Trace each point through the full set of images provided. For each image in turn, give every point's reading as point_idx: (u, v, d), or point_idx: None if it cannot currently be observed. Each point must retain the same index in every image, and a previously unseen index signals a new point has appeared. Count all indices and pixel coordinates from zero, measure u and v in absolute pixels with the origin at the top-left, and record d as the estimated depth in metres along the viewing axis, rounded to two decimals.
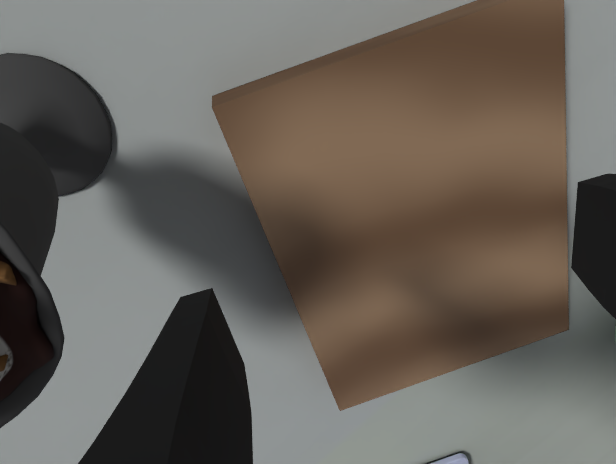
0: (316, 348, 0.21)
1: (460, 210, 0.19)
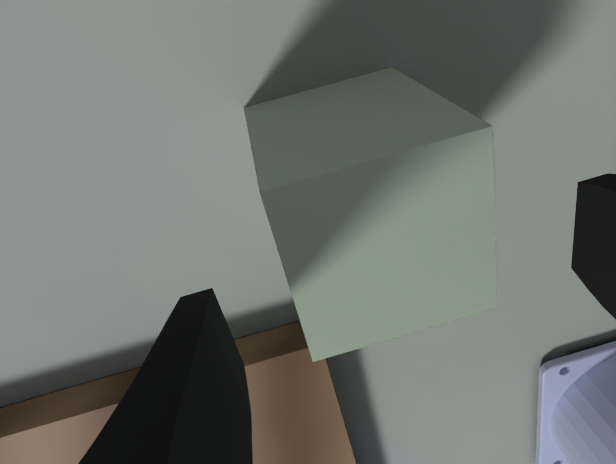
0: None
1: None
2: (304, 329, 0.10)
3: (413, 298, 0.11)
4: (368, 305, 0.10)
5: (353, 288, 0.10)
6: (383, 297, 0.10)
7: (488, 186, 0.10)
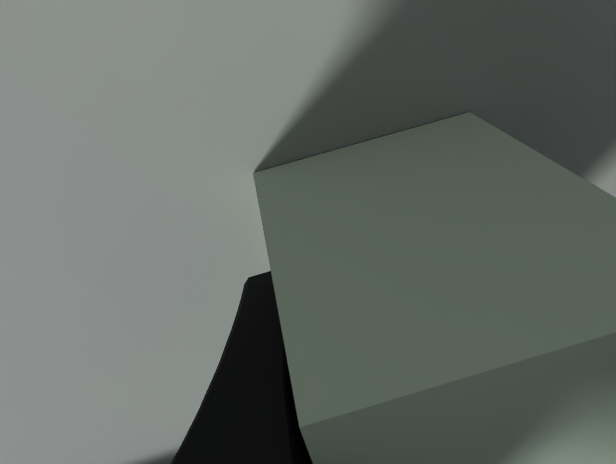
0: None
1: None
2: None
3: None
4: None
5: None
6: None
7: None
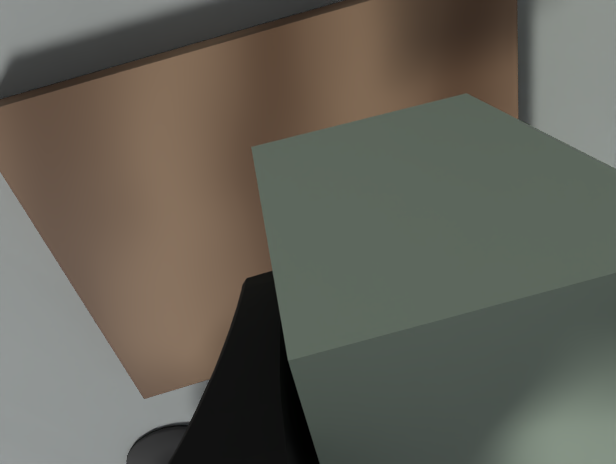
0: None
1: None
2: None
3: None
4: None
5: None
6: None
7: None
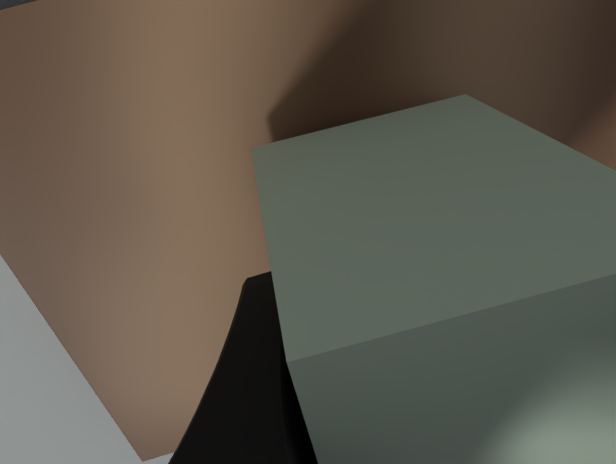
0: None
1: None
2: None
3: None
4: None
5: None
6: None
7: None
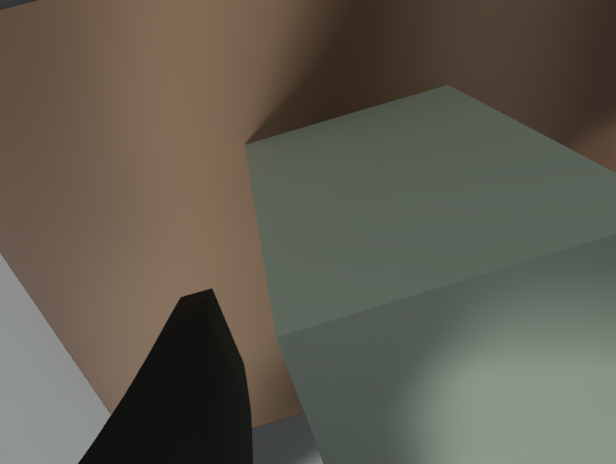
0: None
1: None
2: None
3: (516, 461, 0.07)
4: None
5: (427, 457, 0.06)
6: None
7: None
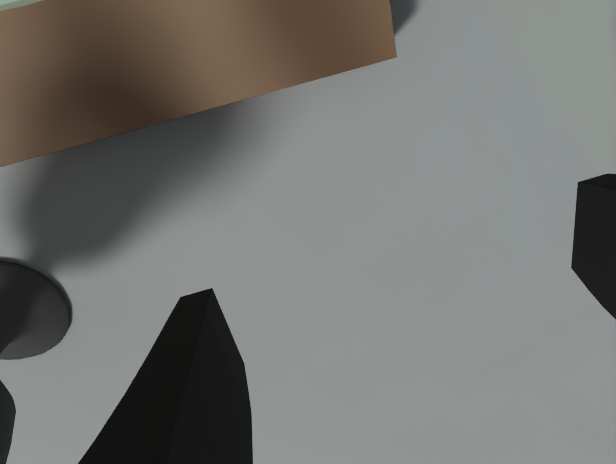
0: (262, 90, 0.15)
1: None
2: None
3: None
4: None
5: None
6: None
7: None
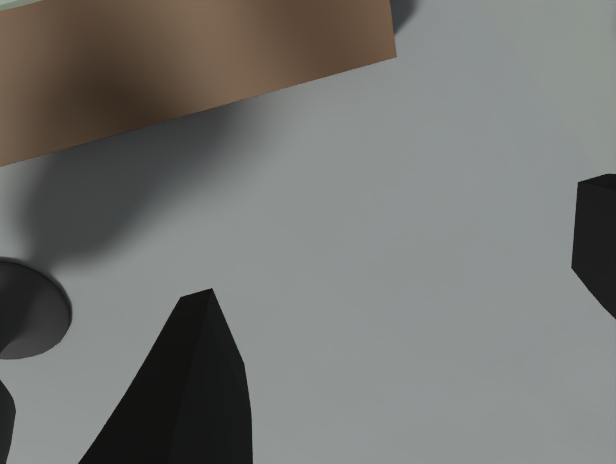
0: (262, 90, 0.15)
1: None
2: None
3: None
4: None
5: None
6: None
7: None
